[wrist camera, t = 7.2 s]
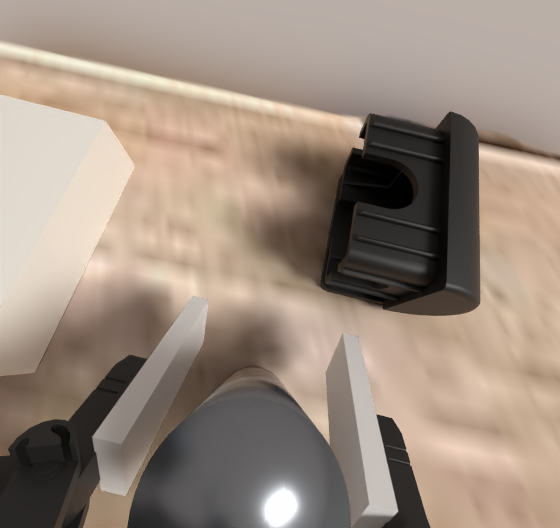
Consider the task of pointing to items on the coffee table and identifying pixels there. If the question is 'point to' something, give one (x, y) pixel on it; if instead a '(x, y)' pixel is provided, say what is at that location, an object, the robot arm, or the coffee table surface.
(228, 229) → the coffee table surface
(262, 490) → the pin
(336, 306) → the coffee table surface
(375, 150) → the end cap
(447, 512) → the coffee table surface
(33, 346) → the socket block
